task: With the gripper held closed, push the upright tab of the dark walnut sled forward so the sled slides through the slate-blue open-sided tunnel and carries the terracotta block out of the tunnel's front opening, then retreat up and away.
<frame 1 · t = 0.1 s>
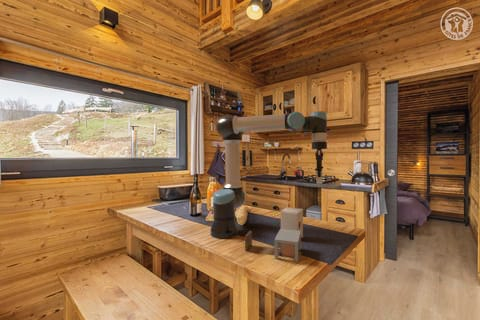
hand: (319, 182, 117), 28 cm above the table, fingers open, 13 cm apart
tunnel: (288, 256, 94), on the table
block: (288, 253, 94), point 1 cm above the table, touching sled
supplement box: (292, 239, 113), on the table
sled: (273, 245, 96), point 4 cm above the table, slide at 0.0 cm, touching block
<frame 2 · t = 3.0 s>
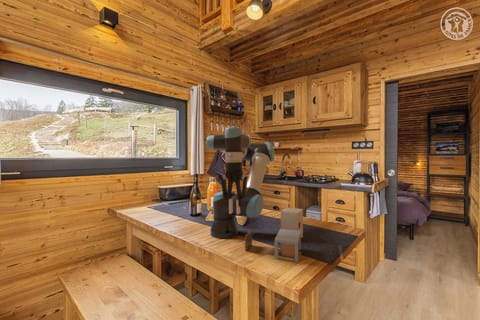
hand: (234, 213, 102), 17 cm above the table, fingers open, 3 cm apart
nothing on the table moved.
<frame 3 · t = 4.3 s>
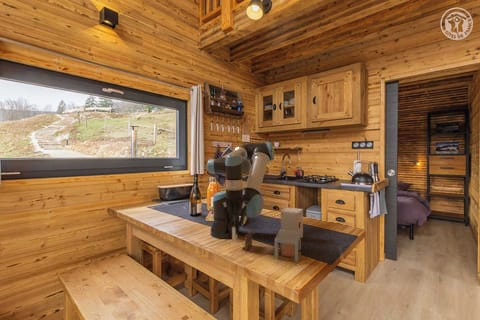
hand: (234, 240, 102), 4 cm above the table, fingers closed
nothing on the table moved.
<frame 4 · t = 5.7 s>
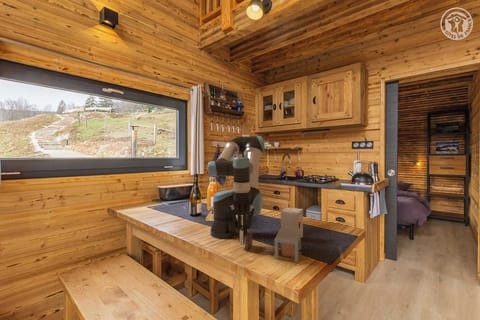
hand: (242, 243, 100), 3 cm above the table, fingers closed
sled: (273, 245, 96), point 4 cm above the table, slide at 0.1 cm, touching block, gripper
everything else where it was.
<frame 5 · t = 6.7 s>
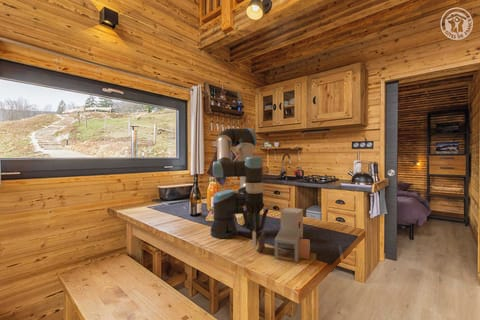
hand: (255, 245, 98), 3 cm above the table, fingers closed
block: (303, 255, 92), point 1 cm above the table, touching sled
sled: (287, 246, 94), point 4 cm above the table, slide at 6.0 cm, touching block, gripper
everything else where it was.
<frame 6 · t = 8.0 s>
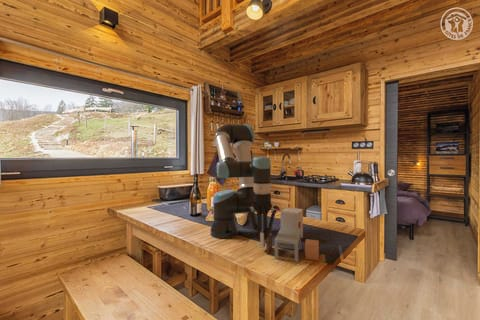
hand: (262, 246, 97), 3 cm above the table, fingers closed
block: (312, 256, 91), point 1 cm above the table, touching sled
sled: (295, 248, 93), point 4 cm above the table, slide at 9.4 cm, touching block, gripper
everything else where it was.
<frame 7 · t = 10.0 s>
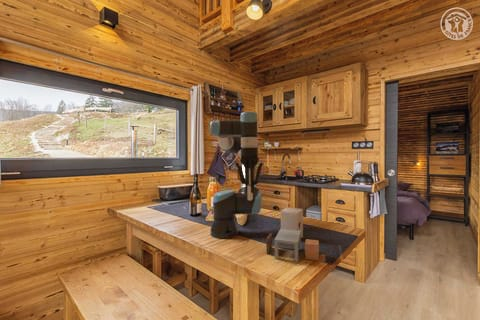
hand: (250, 199, 100), 23 cm above the table, fingers closed
sled: (295, 248, 93), point 4 cm above the table, slide at 9.4 cm, touching block
everything else where it was.
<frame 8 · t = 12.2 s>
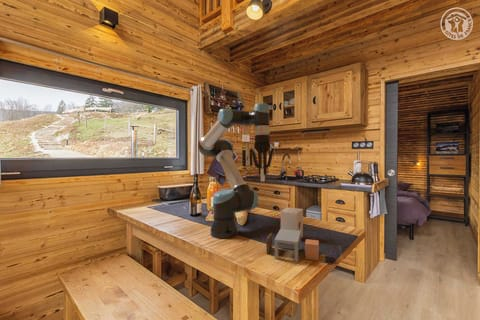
hand: (262, 181, 114), 29 cm above the table, fingers closed
nothing on the table moved.
at the end: block inside the target area on the table beside the tunnel (1.6 cm from its centre), point 1.3 cm above the table; block tilted 0°; sled slide at 9.4 cm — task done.
